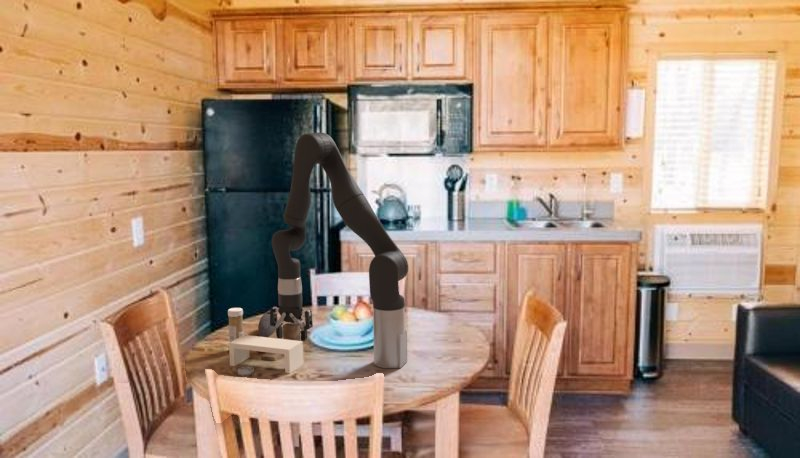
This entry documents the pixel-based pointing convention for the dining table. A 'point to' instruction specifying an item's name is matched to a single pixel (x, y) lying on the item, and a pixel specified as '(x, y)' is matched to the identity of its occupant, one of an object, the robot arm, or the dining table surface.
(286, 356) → the shelf
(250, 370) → the silver metal dome
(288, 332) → the brown l-shaped block
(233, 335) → the sprinkles bottle
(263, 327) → the perforated stone tool
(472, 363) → the dining table surface
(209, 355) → the dining table surface
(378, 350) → the robot arm
